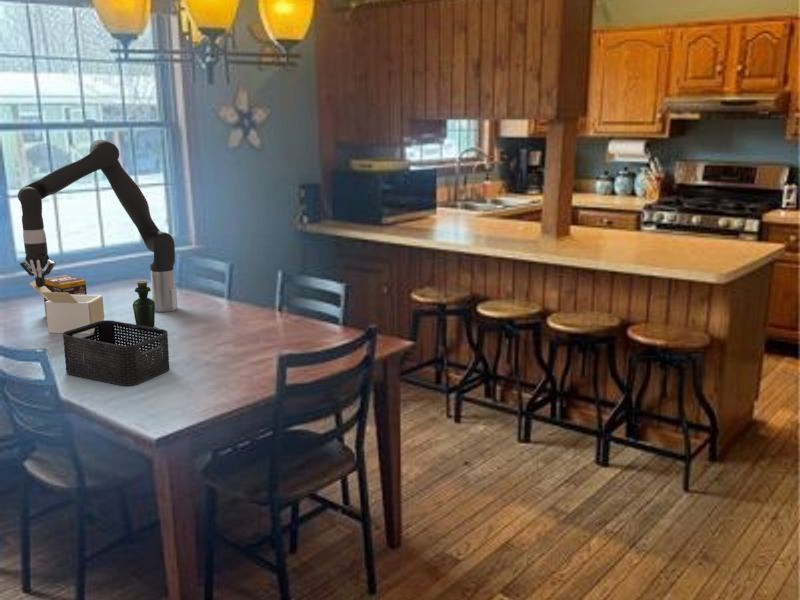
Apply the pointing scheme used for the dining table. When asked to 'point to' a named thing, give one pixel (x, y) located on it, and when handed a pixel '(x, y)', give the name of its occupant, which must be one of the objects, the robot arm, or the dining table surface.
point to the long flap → (59, 297)
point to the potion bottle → (144, 306)
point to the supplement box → (66, 285)
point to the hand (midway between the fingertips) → (40, 286)
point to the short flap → (39, 288)
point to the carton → (74, 313)
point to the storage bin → (116, 353)
